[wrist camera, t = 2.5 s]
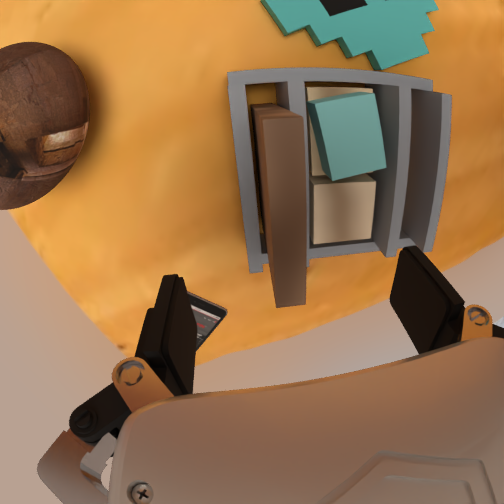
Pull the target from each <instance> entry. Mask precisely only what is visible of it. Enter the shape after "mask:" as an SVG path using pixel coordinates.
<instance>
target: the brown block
mask: <svg viewBox="0 0 504 504" xmlns="http://www.w3.org/2000/svg"><path fill="white" fill-rule="evenodd" d="M250 106H251V116H252V126H253V136H254V146H255V157H256V167H257V178H258V189H259V200H260V211H261V220H262V225H263V231H264V237H265V243H266V249H267V255H268V261H269V267H270V273H271V279H272V285H273V291H274V297H275V303H276V308H280V307H289V306H297V305H305V304H306V268H307V203H306V163H305V138H304V119H303V117H302V116H300V115H298V114H296V113H293V112H291V111H289V110H287V109H285V108H282V107H280V106H278V105H275V104H273V103H263V104H251V105H250Z"/></svg>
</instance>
